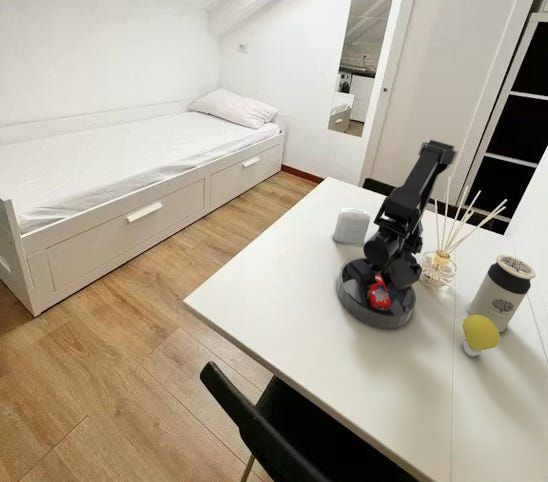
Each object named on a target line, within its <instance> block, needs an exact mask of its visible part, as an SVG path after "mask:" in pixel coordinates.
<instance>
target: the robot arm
mask: <svg viewBox="0 0 548 482" xmlns="http://www.w3.org/2000/svg"><path fill="white" fill-rule="evenodd" d="M458 152H459V151H458V150H455V145H452V144H449V143H445V142H441V141H439V140H434V139H430V140H429V141H428V142H427V141H423V142H422V143H421V145H420V148H419V150H418V156H419V157H418V158H417V160H416V162H415V164H414V166H413V167H412V169H411V170H410V172H409V174H408V176H407V178H406V179H405V180H404V183H403V184H402V185H400V186H398V187H395V188H394V189H392V191H391V192H390V194H389V196H387V195H386V197H385V198H384V200H383V202H382V204H381V206H380V208H379V210H378V212H377V214H376V216H375V218H374V220H373V224H374V225H376V226H378V229H377V231H376V232H375V233H374V234H372V236H371V237H370V238H369V239H368V240H367V241H365V243H364V244H363V247H362V251H363V256H364V257H365V258H367V259H368V260H369V261H370V262H371V263H373V264H370V265H367V264H366V263H365V262H364V261H363V260H362V259H359V260H355V261H352V262H348V261H347V262H348V265H347V271H348V273H349V274H350V275H351V276H352V277H353V279H354V280H355V281H356V282H357V283H358V284H359V286H362V289H363V292H364V293H365V294H367V293H368V291H369V289H370V287H371V285H372V284H375V283H378V282H377V281H376V280H375V276H376V274H377V273H380V272H383V281H384V284H385V286H386V287H387V286H388V285H389V284H390V283H391V282H392V281H393V283H394V285H395V287H396V288H397V289H399V290H402V289H404V288H406V287H410V286H411V285H412V286H413V285H414V284H416V282H419V281H421V276H422V272H423V267H422V266H421V264H420V263H418V261H417V258H416V257H415V256H414V255H417V254H421V252H422V249H423V246H424V243H423V242H424V241H423V239H424V238H423V236H422V235H423V232H424V228H423V224H422V223H423V222H422V219H423V216H424V213H425V211H426V208H427V206H428V204H429V201H430V199H431V196H432V193H433V191H434V188H435V186H436V183H437V181H438V179H439V176H440V175H441V174H442V173H443V172H445V171H446V170H448V169H449V168H450V166H451V165H453V164H454V163H455V161H456V158H457V155H458ZM383 215H384V217H386V218H387V219H386V218H384V217H383Z"/></svg>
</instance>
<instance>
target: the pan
mask: <svg viewBox="0 0 548 482" xmlns="http://www.w3.org/2000/svg"><path fill="white" fill-rule="evenodd" d="M359 259H362V260H363V261H364V262H365V263H366V264H367V265H370V264H373V263H371V262H370V261H369V260H368V259H367V258H366V257H355V258H352V259H349V260H348V261H346V262H345V263H344V264H343V265H342V267H340V270H339V276H338V279H337V284H336V291H337V295H338V299H339V300H340V303H341V304H342V305H343V307H344V308H345V309H346V310H347V312H349V314H350V315H352V316H353V317H354V318H356V319H357V320H359V321H360V322H362V323H364V324H365V325H368V326H370V327H373V328H377V329H380V330H394V329H398V328H400V327H403V326H404V325H405V324H406V323H407V322H408V321H409V319H410V318H411V315H412V313H413V311H414V308H415V305H416V301H417V298H416V297H417V296H416V292H415V290H414V287H413V284H412V285H411V286H410V287H406V288H404V289H402V290H399V289H397V288H396V287H395V285H394V283H393V281H392V282H391V283H390V284H389V285H388V286H387V287H386V290H387V289H389V290H388V291H387V293H388V296H389V299H390V302H391V306H390V308H389V310H387V311H383V312H382V311H378V310H375V309H374V308H372V307H371V306H370V305H369V304H368V298H367V295H366V294H365V293H364V292H363V289H362V286H359V284H358V283H357V282H356V281H355V280H354V279H353V277H352V276H351V275H350V274H349V273H348V271H347V265H348V262H352V261H355V260H359ZM380 274H381V276H382V279H383V272H380Z"/></svg>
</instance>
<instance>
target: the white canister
mask: <svg viewBox="0 0 548 482" xmlns="http://www.w3.org/2000/svg"><path fill="white" fill-rule="evenodd" d="M495 260H496V262H495V263H493V264H491V265H490V267H488V270H487V272H486V274H485V276H484V278H483V280H482V282H481V284H480V286H479V287H478V289H477V292H476V293H475V295H474V298H473V299H472V301H471V303H470V305H469V306H468V307H469V308H468V313H469V316H470V315H475V314H477V315H482V316H485V317H486V318H488V319H490V320H491V321H492V322H493V323H494V324H495V326H496V327H497V329H498V332H499V333H502V332H504V331H505V330H506V328H507V326H508V325H509V323H510V321H511V320H512V318H513V317H514V315H515V314H516V312H517V311H518V309H519V307H520V306H521V304H522V302H523V300H524V298H525V297H526V295H527V293H528V292H529V290H530V289H531V287H532V285H531V284H532V283H531V280H533V279H535V278H536V272H535V270H534V268H532V267H531V266H530V265H529V264H528V263H526V262H525V261H523V260H521V259H519V257H518V258H517V257H515V256H512V255H508V254H499V255H497V256H496V258H495Z"/></svg>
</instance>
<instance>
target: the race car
mask: <svg viewBox="0 0 548 482" xmlns="http://www.w3.org/2000/svg"><path fill="white" fill-rule="evenodd" d="M375 280H376V281H377V282H378V283H375V284H372V285H371V287H370V289H369V291H368V293H367V294H366V295H367V298H368V304H369V305H370V306H371V307H372V308H374V309H375V310H378V311H382V312H383V311H387V310H389V308H390V306H391V302H390V299H389V296H388V293H387V291H388V290H389V289H387V290H386V286H385V284H384V281H383V279H382V276H381V274H380V273H377V274H376V276H375Z"/></svg>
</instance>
